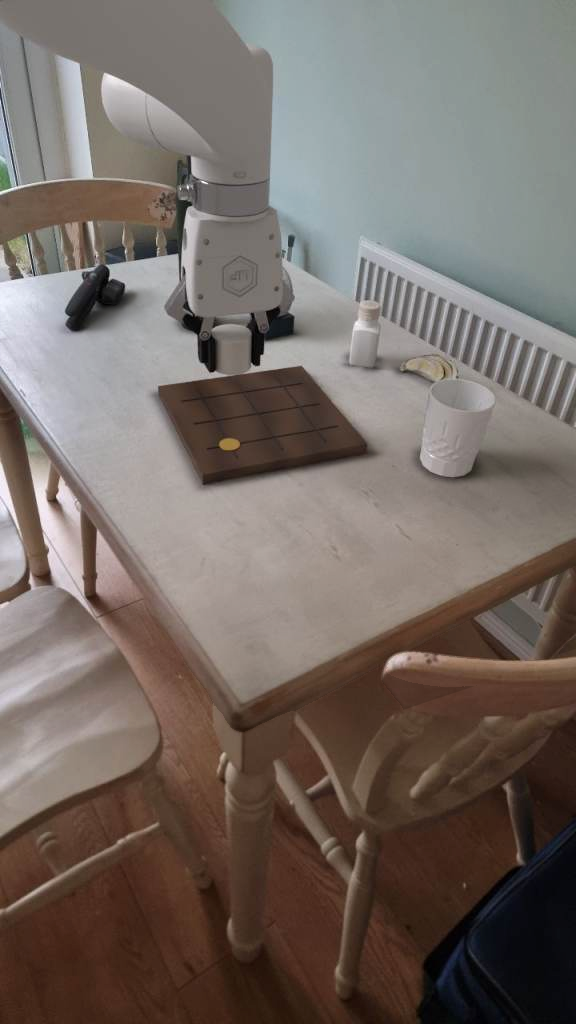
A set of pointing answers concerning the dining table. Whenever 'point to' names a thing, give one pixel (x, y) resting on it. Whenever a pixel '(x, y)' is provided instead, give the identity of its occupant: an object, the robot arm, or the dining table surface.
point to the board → (258, 423)
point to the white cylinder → (232, 349)
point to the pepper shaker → (366, 335)
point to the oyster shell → (431, 367)
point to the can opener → (93, 295)
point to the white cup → (455, 426)
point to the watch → (282, 317)
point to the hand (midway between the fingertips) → (231, 362)
